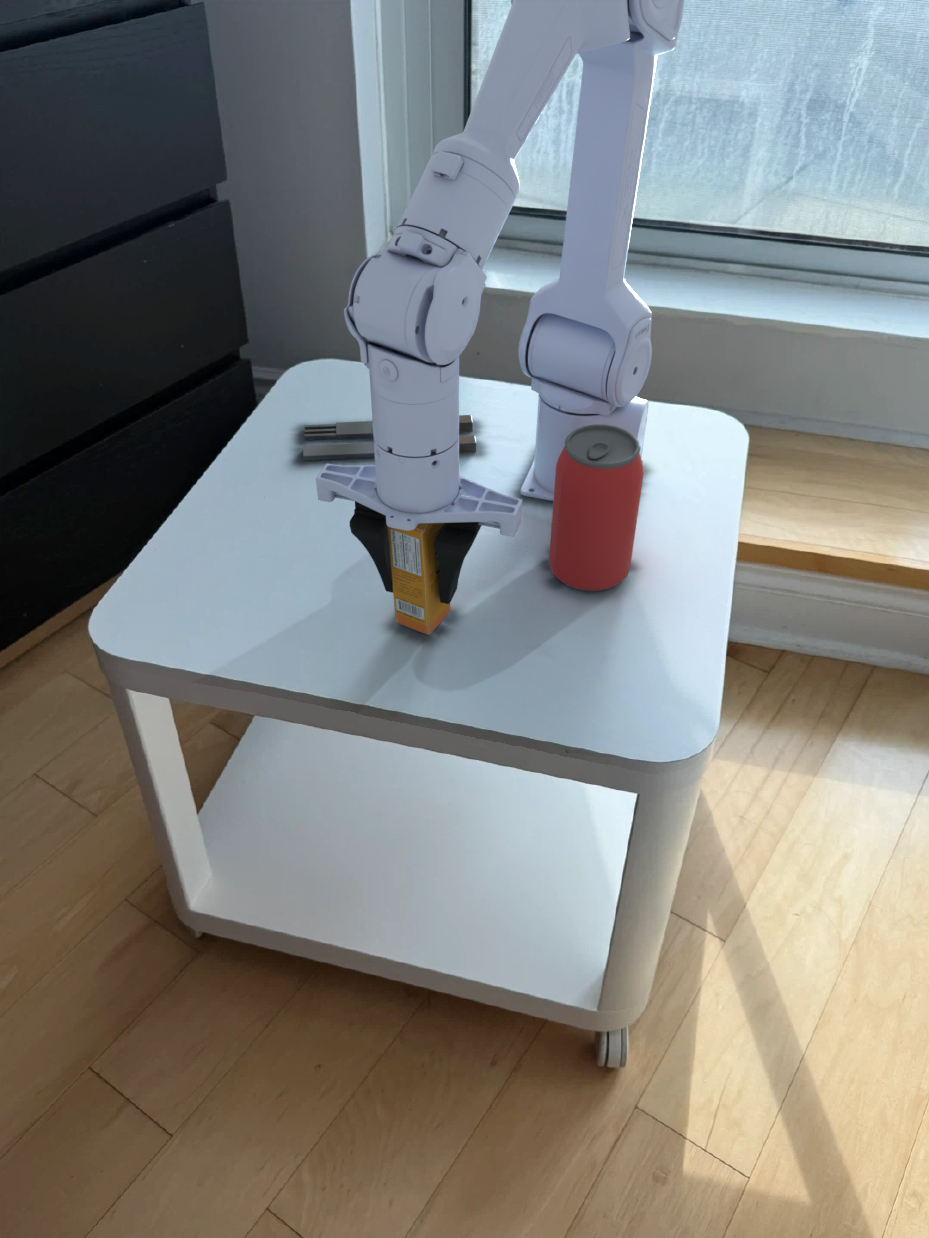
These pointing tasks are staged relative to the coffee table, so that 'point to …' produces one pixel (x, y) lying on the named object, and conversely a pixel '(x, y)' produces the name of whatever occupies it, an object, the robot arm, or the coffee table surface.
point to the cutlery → (363, 431)
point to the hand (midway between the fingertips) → (420, 589)
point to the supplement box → (416, 577)
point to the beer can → (595, 507)
